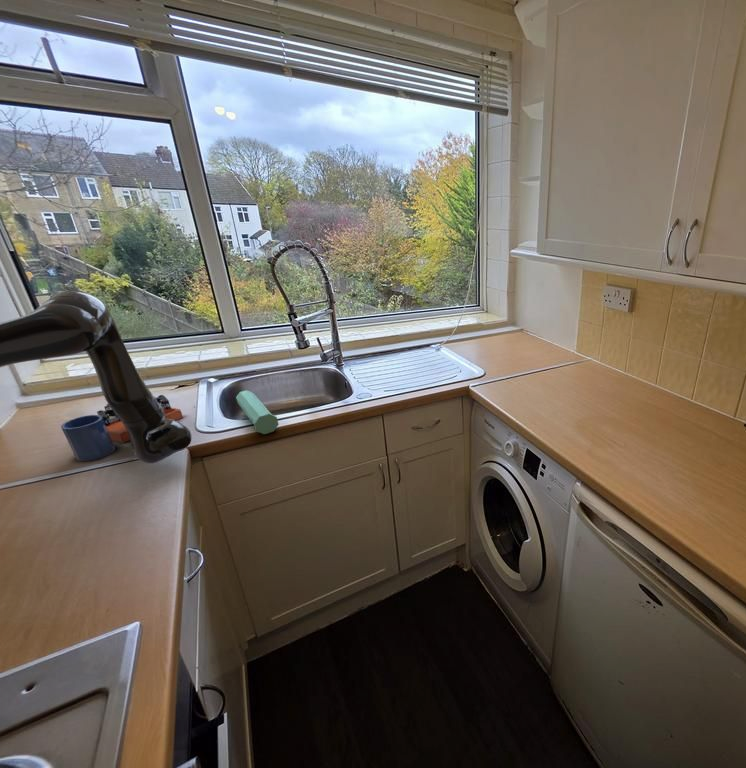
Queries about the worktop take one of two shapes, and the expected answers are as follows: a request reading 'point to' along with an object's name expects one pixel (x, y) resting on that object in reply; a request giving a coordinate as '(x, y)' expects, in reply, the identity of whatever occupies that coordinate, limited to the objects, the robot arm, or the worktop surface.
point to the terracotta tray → (121, 433)
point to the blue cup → (88, 437)
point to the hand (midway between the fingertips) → (128, 402)
